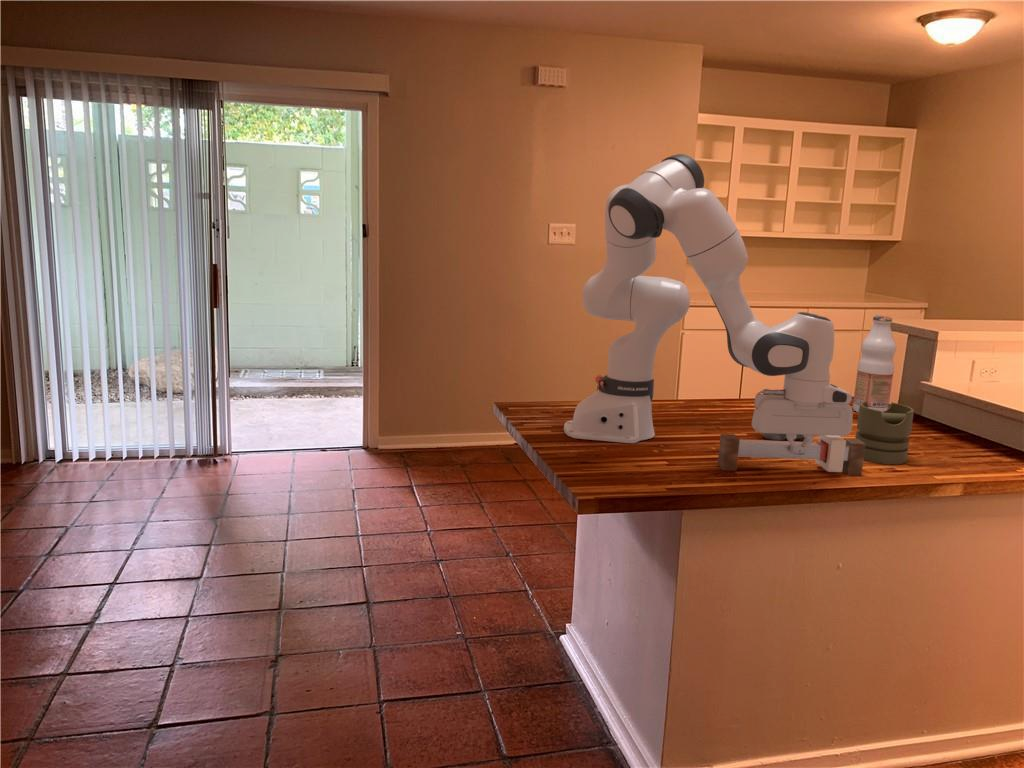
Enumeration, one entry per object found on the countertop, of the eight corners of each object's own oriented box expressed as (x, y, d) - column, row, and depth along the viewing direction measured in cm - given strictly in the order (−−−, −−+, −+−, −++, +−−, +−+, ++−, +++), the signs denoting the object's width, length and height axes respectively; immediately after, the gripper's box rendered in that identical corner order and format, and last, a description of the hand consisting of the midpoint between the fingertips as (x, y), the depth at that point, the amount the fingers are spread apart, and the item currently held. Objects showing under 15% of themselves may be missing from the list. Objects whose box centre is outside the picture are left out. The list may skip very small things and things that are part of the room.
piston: (853, 399, 184) (902, 402, 183) (846, 448, 187) (895, 450, 186) (869, 411, 173) (922, 414, 172) (862, 462, 176) (914, 465, 175)
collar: (827, 471, 165) (832, 440, 164) (815, 461, 172) (819, 431, 170) (841, 472, 165) (846, 440, 164) (828, 462, 172) (832, 431, 170)
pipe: (813, 445, 189) (816, 413, 187) (758, 440, 191) (761, 409, 189) (808, 438, 194) (812, 408, 193) (756, 434, 197) (759, 403, 195)
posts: (722, 470, 166) (725, 438, 165) (717, 464, 170) (720, 433, 169) (861, 475, 167) (865, 444, 165) (853, 469, 171) (857, 438, 169)
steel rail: (728, 457, 166) (729, 442, 166) (723, 452, 169) (725, 438, 169) (857, 461, 166) (859, 447, 166) (851, 457, 170) (853, 442, 169)
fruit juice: (846, 411, 226) (859, 315, 220) (859, 406, 232) (872, 313, 226) (879, 417, 219) (893, 319, 213) (892, 413, 226) (906, 317, 220)
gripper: (761, 392, 159) (753, 456, 162) (859, 395, 159) (851, 459, 162) (751, 385, 165) (744, 447, 168) (846, 388, 165) (838, 450, 168)
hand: (797, 453), depth 165 cm, fingers closed
